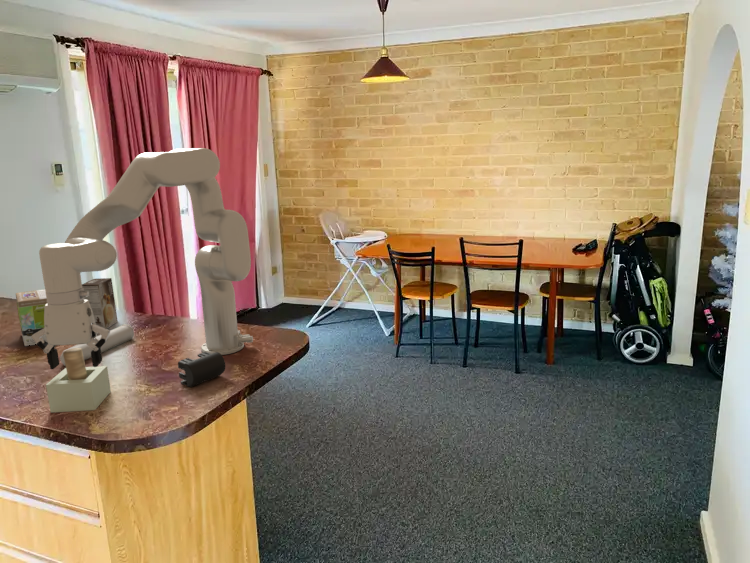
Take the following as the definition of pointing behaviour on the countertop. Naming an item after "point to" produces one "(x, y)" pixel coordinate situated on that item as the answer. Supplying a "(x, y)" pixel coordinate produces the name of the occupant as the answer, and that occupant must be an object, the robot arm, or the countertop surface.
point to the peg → (75, 364)
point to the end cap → (201, 368)
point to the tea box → (31, 314)
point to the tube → (113, 340)
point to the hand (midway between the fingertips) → (76, 365)
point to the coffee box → (101, 301)
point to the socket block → (78, 390)
